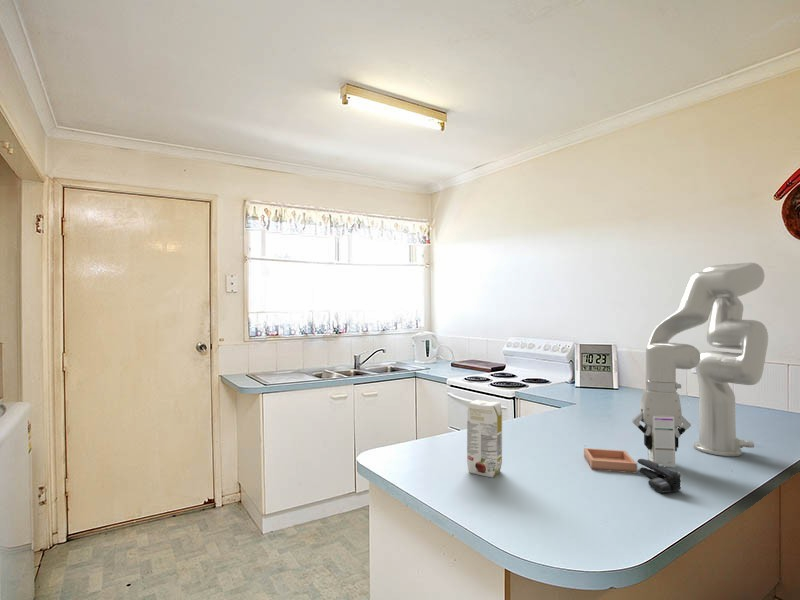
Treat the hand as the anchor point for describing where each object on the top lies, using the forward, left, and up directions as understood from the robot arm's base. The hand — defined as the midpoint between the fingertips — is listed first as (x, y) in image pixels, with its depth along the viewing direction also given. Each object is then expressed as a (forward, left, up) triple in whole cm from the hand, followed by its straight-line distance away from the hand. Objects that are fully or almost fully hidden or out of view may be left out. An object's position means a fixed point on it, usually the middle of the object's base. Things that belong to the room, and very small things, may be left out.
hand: (661, 448), depth 131 cm
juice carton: (+50, +19, -5) cm, 54 cm away
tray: (+15, +4, -4) cm, 16 cm away
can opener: (+6, +16, -5) cm, 18 cm away
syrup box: (0, 0, -5) cm, 5 cm away
